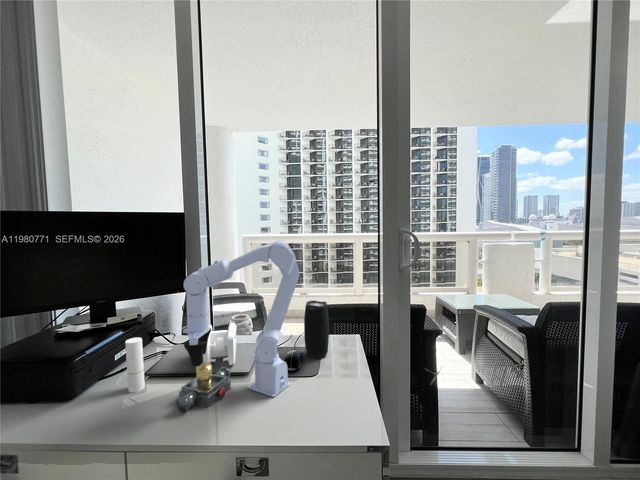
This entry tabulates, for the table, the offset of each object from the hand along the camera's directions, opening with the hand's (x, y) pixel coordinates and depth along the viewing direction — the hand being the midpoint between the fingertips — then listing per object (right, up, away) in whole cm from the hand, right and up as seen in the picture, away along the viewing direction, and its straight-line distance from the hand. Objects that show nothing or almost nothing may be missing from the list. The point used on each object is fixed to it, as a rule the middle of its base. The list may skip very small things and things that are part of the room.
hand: (199, 359), depth 93 cm
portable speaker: (+34, -8, +25) cm, 43 cm away
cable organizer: (0, -9, +22) cm, 24 cm away
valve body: (+2, -10, 0) cm, 10 cm away
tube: (-20, -10, +3) cm, 23 cm away
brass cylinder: (+2, -8, 0) cm, 8 cm away
